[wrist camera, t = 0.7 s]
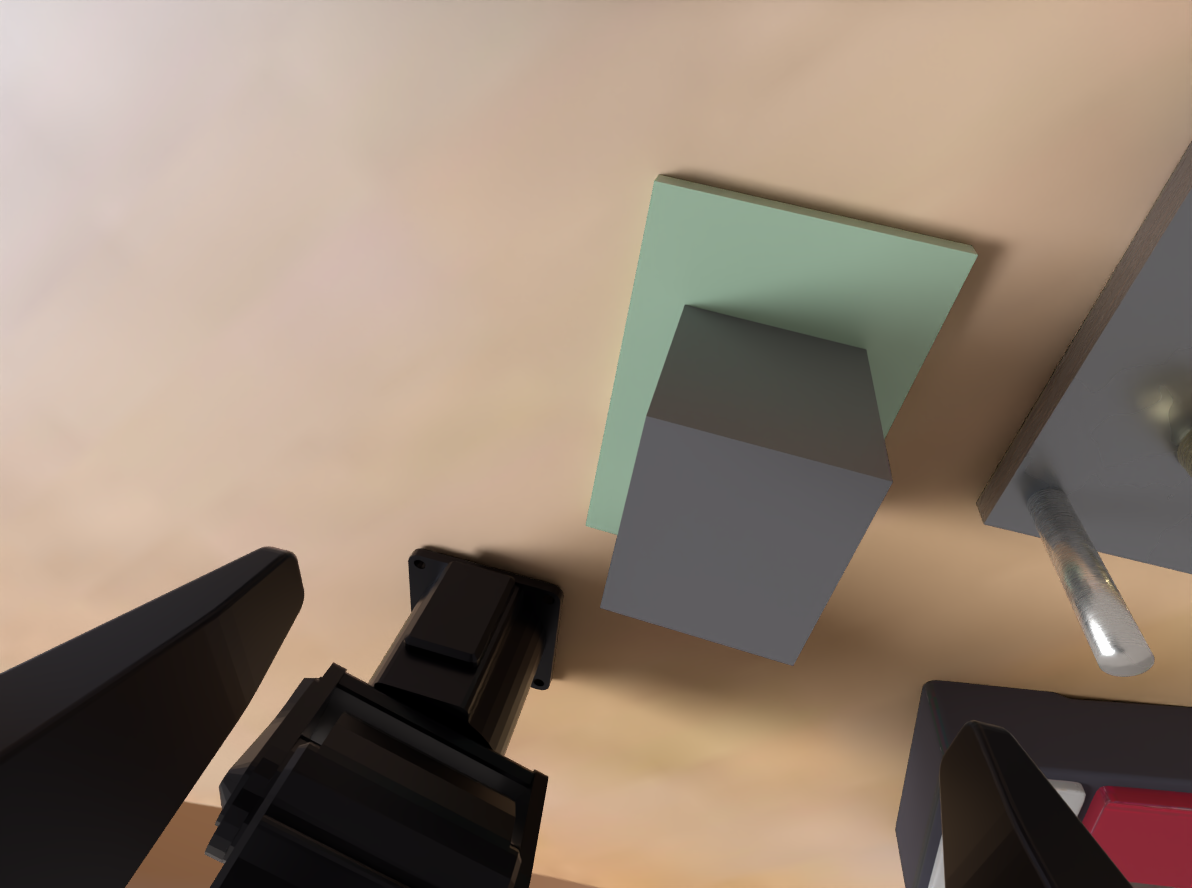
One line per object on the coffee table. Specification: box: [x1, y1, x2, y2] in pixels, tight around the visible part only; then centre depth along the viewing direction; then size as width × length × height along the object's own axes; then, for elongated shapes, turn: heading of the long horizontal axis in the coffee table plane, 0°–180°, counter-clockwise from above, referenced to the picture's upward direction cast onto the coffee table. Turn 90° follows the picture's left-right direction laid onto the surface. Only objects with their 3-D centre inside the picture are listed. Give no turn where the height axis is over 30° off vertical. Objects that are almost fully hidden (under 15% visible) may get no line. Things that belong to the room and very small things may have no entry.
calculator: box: [895, 680, 1192, 888], centre depth 25 cm, size 11×4×15 cm
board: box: [586, 175, 978, 666], centre depth 18 cm, size 12×8×7 cm, turn 171°
